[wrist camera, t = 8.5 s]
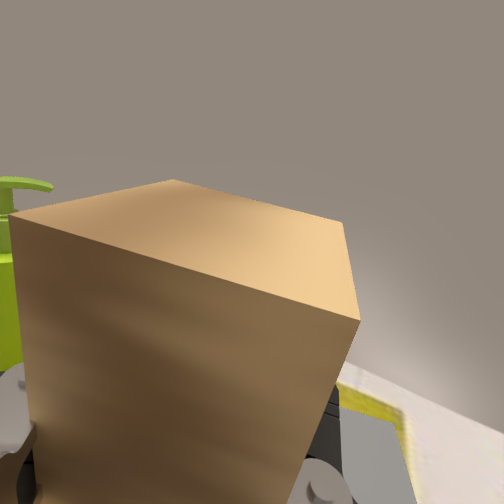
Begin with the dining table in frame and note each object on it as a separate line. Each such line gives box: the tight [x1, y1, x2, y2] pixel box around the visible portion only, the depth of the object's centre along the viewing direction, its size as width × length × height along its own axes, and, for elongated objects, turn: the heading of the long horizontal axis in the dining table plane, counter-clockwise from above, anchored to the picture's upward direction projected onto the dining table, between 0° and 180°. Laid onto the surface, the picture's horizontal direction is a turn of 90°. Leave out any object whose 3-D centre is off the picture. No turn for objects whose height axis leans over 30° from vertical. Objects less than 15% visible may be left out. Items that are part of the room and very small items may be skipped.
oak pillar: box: [8, 180, 361, 504], centre depth 8 cm, size 5×5×12 cm
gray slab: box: [339, 407, 417, 504], centre depth 23 cm, size 9×9×4 cm
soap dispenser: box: [0, 176, 54, 371], centre depth 31 cm, size 6×7×20 cm
